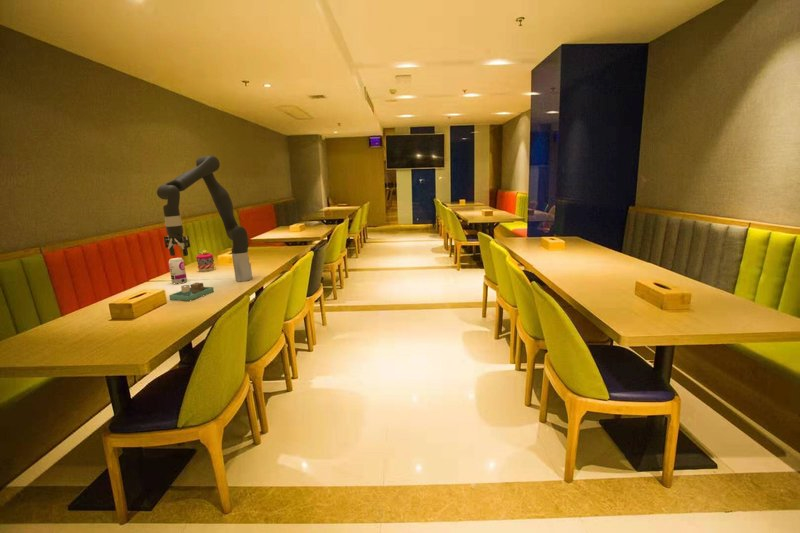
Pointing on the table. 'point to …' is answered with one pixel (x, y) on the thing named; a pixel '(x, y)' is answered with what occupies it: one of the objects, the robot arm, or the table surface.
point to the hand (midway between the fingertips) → (179, 255)
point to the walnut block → (197, 288)
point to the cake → (205, 261)
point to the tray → (193, 296)
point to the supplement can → (177, 270)
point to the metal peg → (186, 290)
